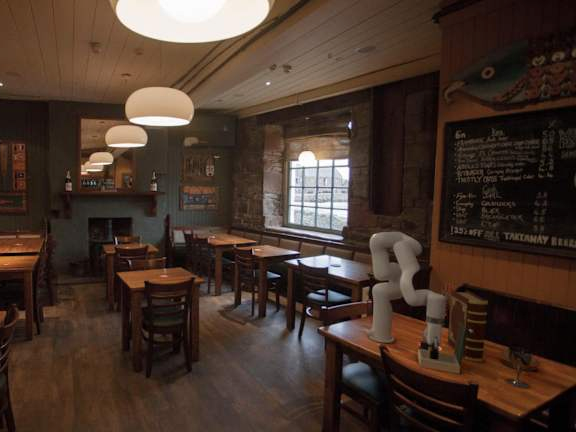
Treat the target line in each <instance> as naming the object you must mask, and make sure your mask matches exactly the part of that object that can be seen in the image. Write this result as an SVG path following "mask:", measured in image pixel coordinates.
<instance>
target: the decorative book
mask: <svg viewBox="0 0 576 432" xmlns="http://www.w3.org/2000/svg"><path fill="white" fill-rule="evenodd" d="M488 305H489V301H488V300H486V299H485V298H482V297H480V296H478V295H477V294H475V293H473V292H471V291H469V290H467V289H465V292H458V291H456V290H454V289H451V290H450V301H449V315H448V316H449V317H448V318H449V319H448V332H447V343H448V345H450V347H452V349H454V350H455V345H456V339H457V333H458V326H459V322H461V323H462V325H463V326H464V328H465V329H472V330H473V331H474V333H475V335H474V336H472V335H471V334H467V333H466V338H465V344H464V350H463V356H462V358H464V359H465V360H467V361H470V362H471V361H472V362H477V363H480V362H484V360H485V359H484V351H485V342H486V339H485V332H486V324H487V320H486V319H487V315H488V312H487V308H488V307H487V306H488ZM466 332H469V331H466Z"/></svg>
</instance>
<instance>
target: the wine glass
mask: <svg viewBox="0 0 576 432" xmlns="http://www.w3.org/2000/svg"><path fill="white" fill-rule="evenodd" d="M507 351H508V355H509V360H510V362H511V363H512V365H513V366H514V367H515V368H516V369H515V370H516V379H508V380H507V381H506V382H507V383H508V384H509V385H511V386H513V387H516V388H520V389H529V388H530V387H529V384H527V383H526V382H523V381H521V380H520V376H521V374H522V373H521V372H523V369H525V368H526V367H528V366H529V365H530V363H531V361H532V357H533V351H532V350H530V349H527V348H523V347H520V346H509V347H508V350H507Z"/></svg>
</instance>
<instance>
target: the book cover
mask: <svg viewBox="0 0 576 432" xmlns="http://www.w3.org/2000/svg"><path fill="white" fill-rule="evenodd" d="M466 331H469V332H466ZM466 333H467V334H471V335H472V336H474V335H475V333H474V331H473V330H472V329H465V328H464V326H463V325H462V323H461V322H459V326H458V333H457V339H456V345H455V349H454V353H453V355H455V357H456V359H457V361H458V363H459V365H460V366H462V363H463V350H464V344H465V338H466Z"/></svg>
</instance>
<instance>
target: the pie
mask: <svg viewBox="0 0 576 432" xmlns="http://www.w3.org/2000/svg"><path fill="white" fill-rule="evenodd" d="M498 357H499V358H500V359H501V360H502V362H503V364H505V365H506V366H508V367H510V368H512V369H513V370H516V368H515V367H514V366H513V365H512V363H511V362H510V360H509V355H508V350H505V351H499V352H498ZM541 364H542V363H541V361H540V360H539V359H537V358H536V357H534V356H532V361H531V363H530V365H529V366H528V367H526V368H525V369H523V370H522V372H523V371H524V372H533V371H535V370H536V369H537V368H538V367H540V366H541Z"/></svg>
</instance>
